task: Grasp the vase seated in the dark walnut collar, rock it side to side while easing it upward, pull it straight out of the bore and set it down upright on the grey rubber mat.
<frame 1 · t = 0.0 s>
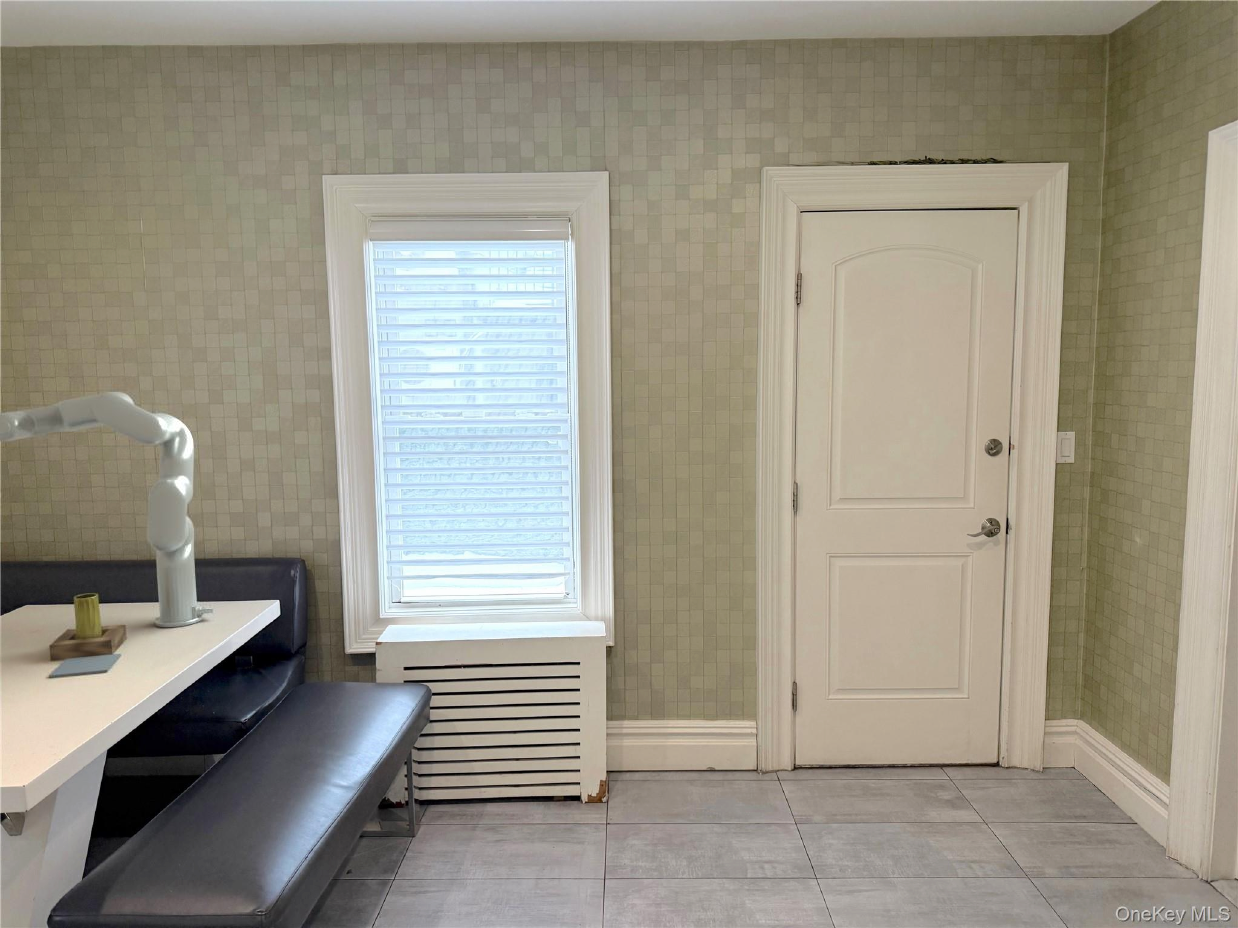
collar: (90, 649, 211), on the table
mat: (86, 666, 199), on the table
vase: (90, 650, 211), resting in collar
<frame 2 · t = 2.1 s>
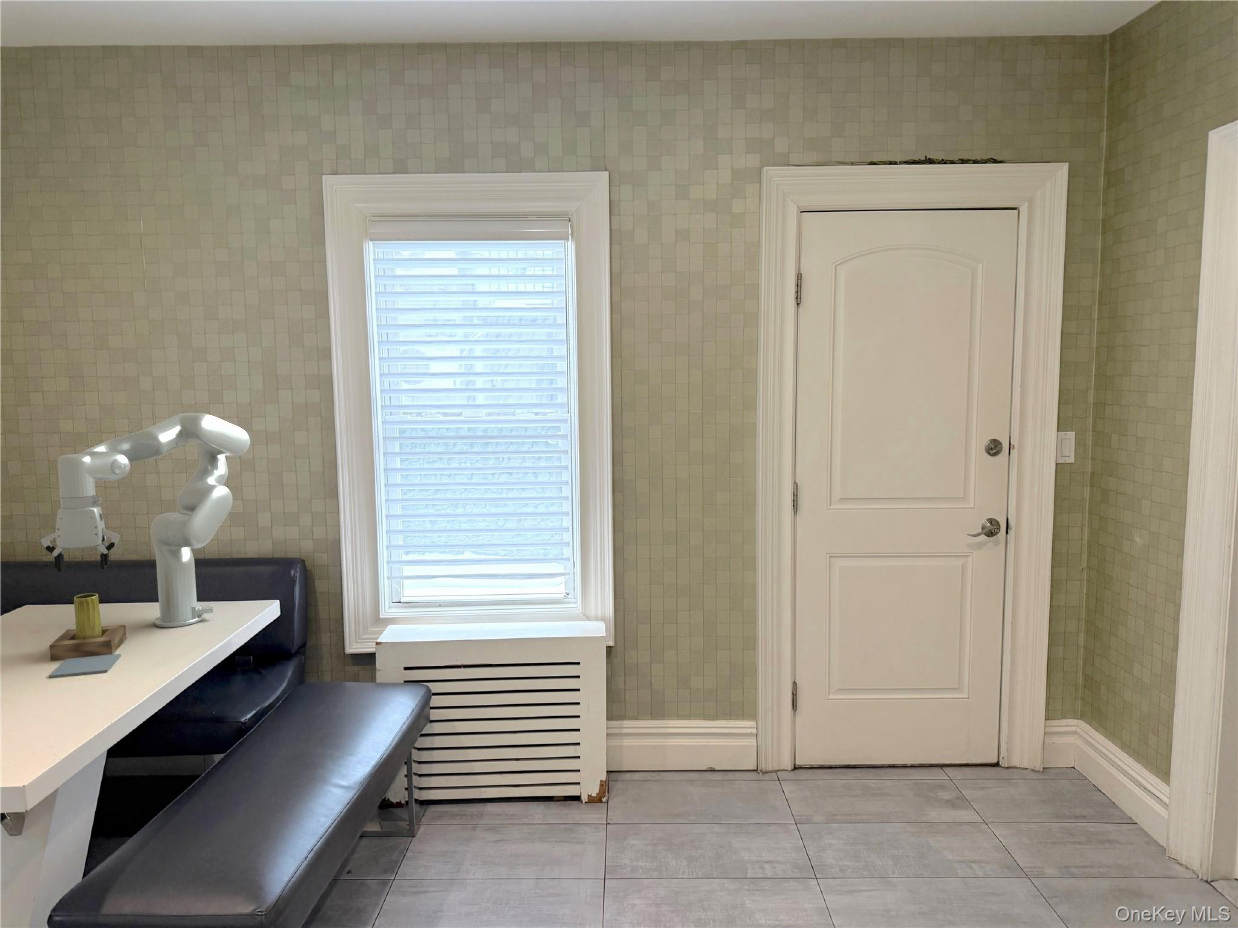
hand: (82, 569, 209), 21 cm above the table, fingers open, 9 cm apart
nothing on the table moved.
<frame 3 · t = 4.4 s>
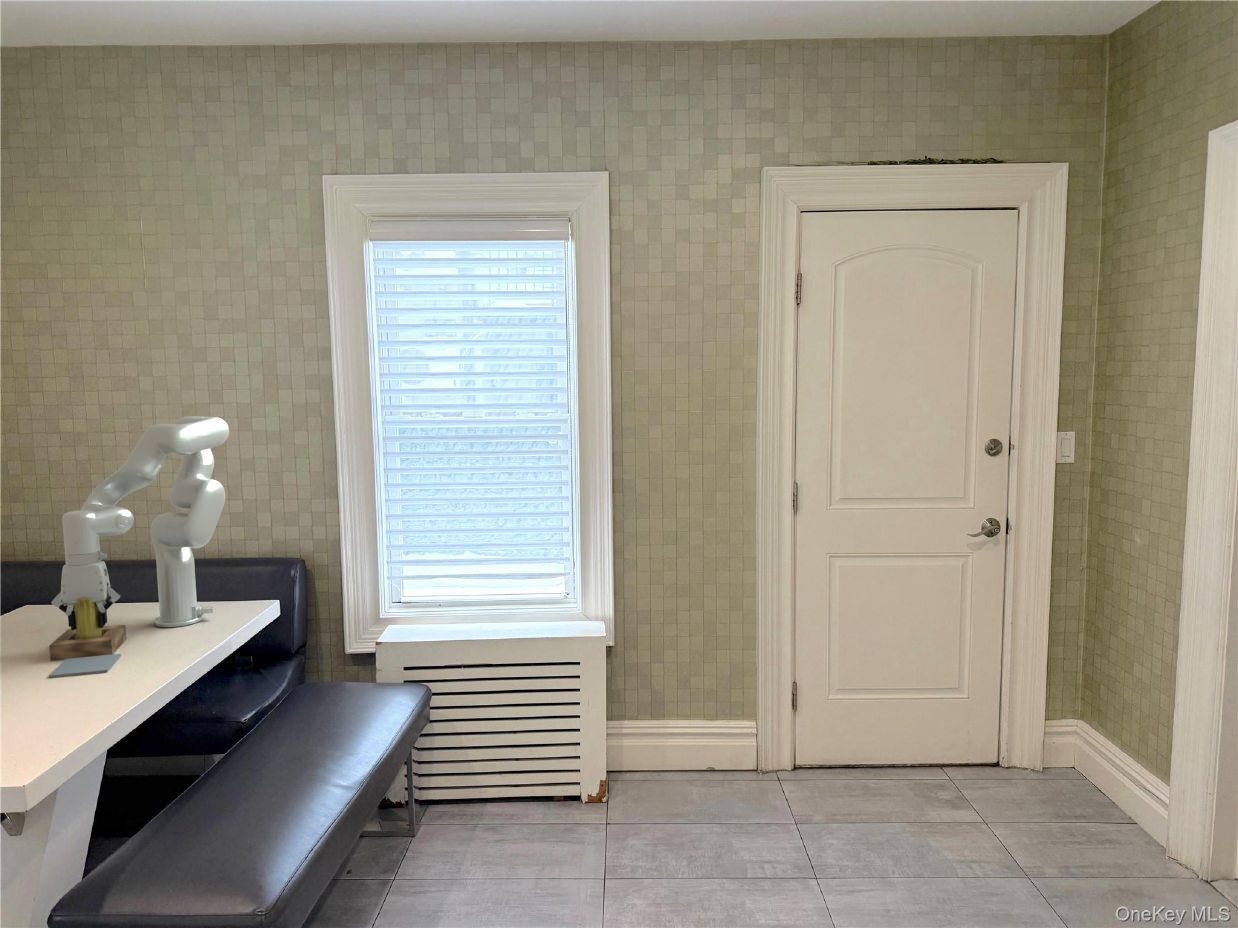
hand: (88, 626, 211), 6 cm above the table, fingers closed on vase, 5 cm apart
vase: (90, 650, 211), resting in collar, touching gripper
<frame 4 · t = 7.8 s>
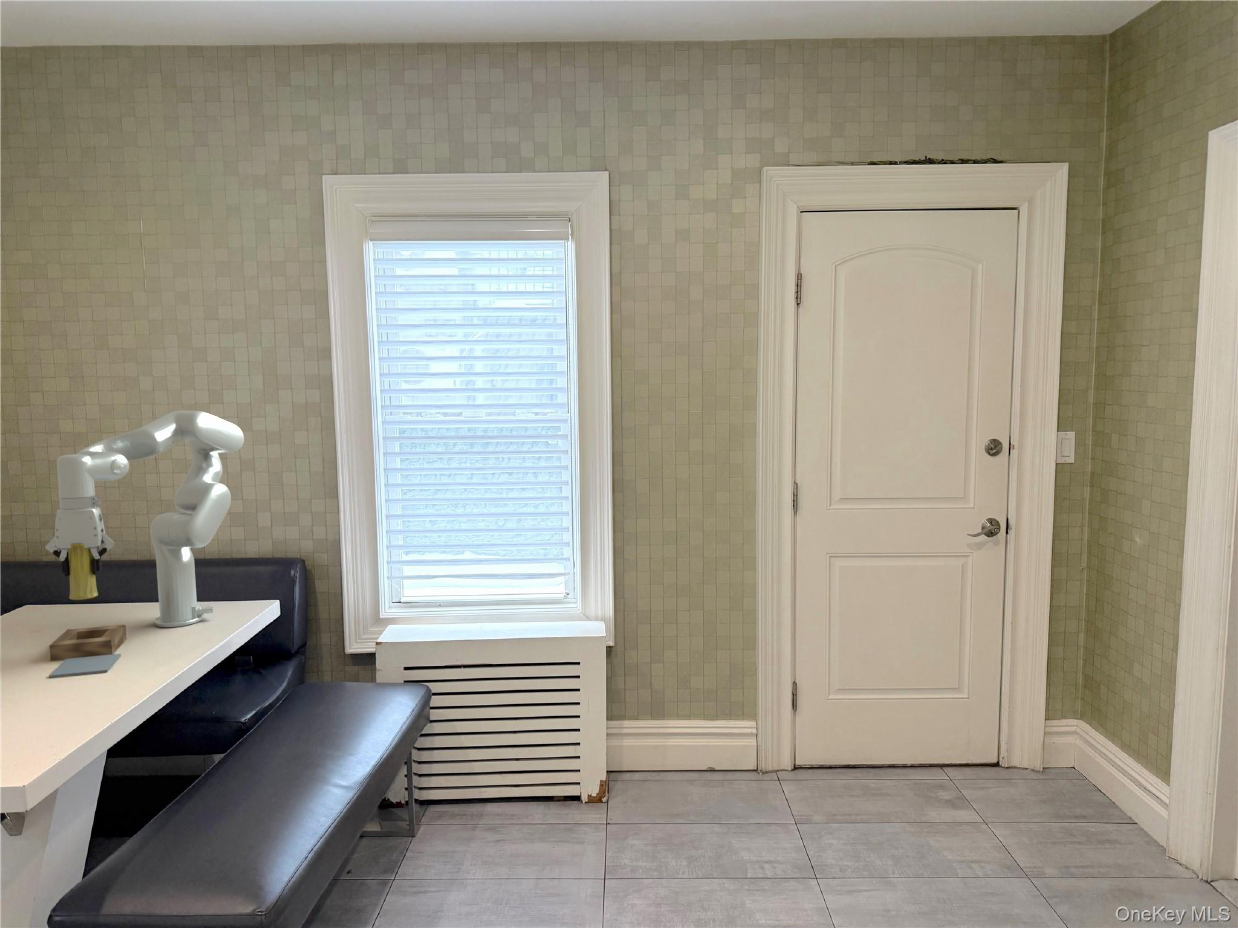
hand: (82, 573, 207), 21 cm above the table, fingers closed on vase, 5 cm apart
vase: (83, 597, 207), point 14 cm above the table, touching gripper
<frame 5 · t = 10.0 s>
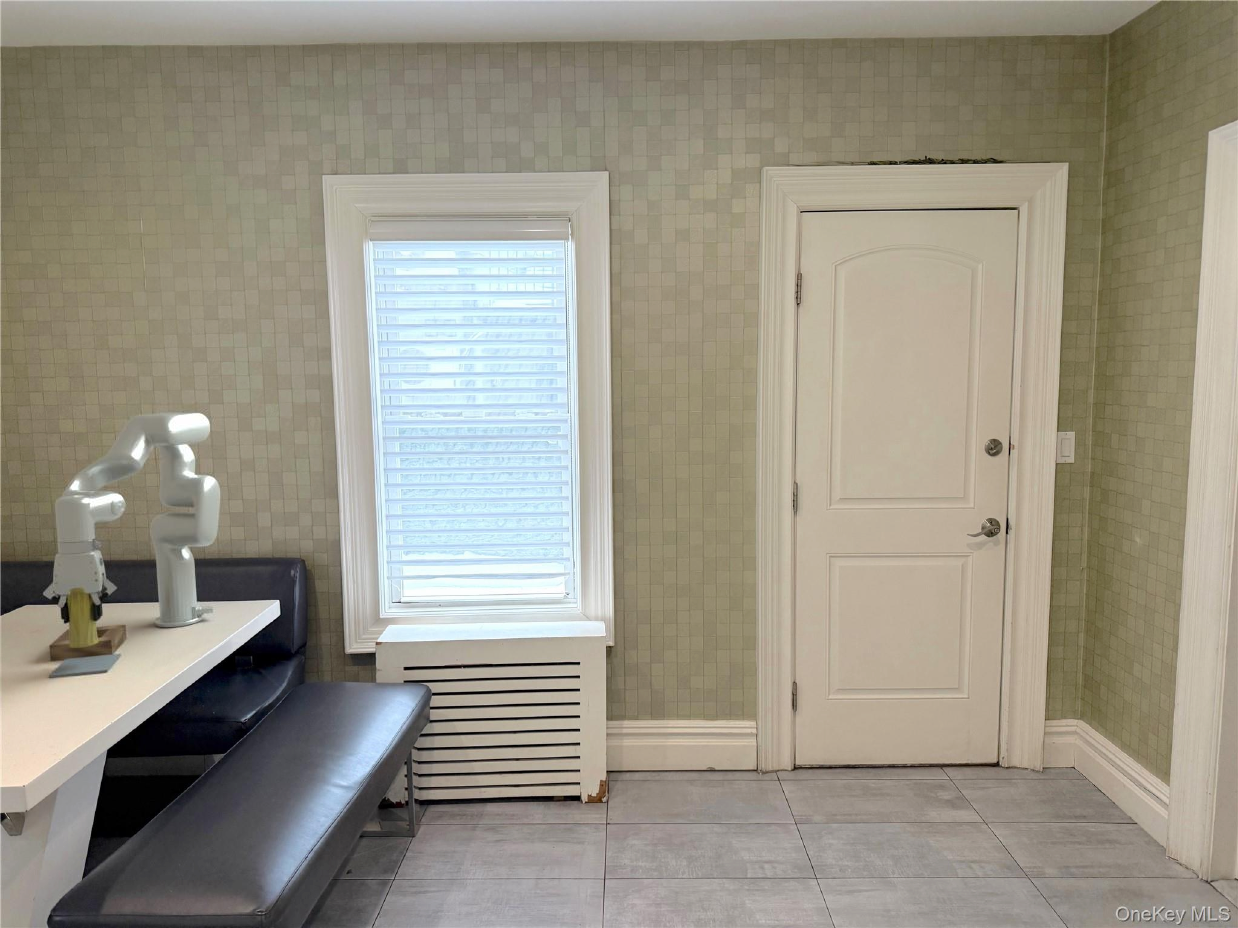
hand: (82, 620, 198), 12 cm above the table, fingers closed on vase, 5 cm apart
vase: (84, 644, 198), point 5 cm above the table, touching gripper
when the fingers open (8 cm above the table, at t = 11.6 s): vase drops 1 cm, resting on mat.
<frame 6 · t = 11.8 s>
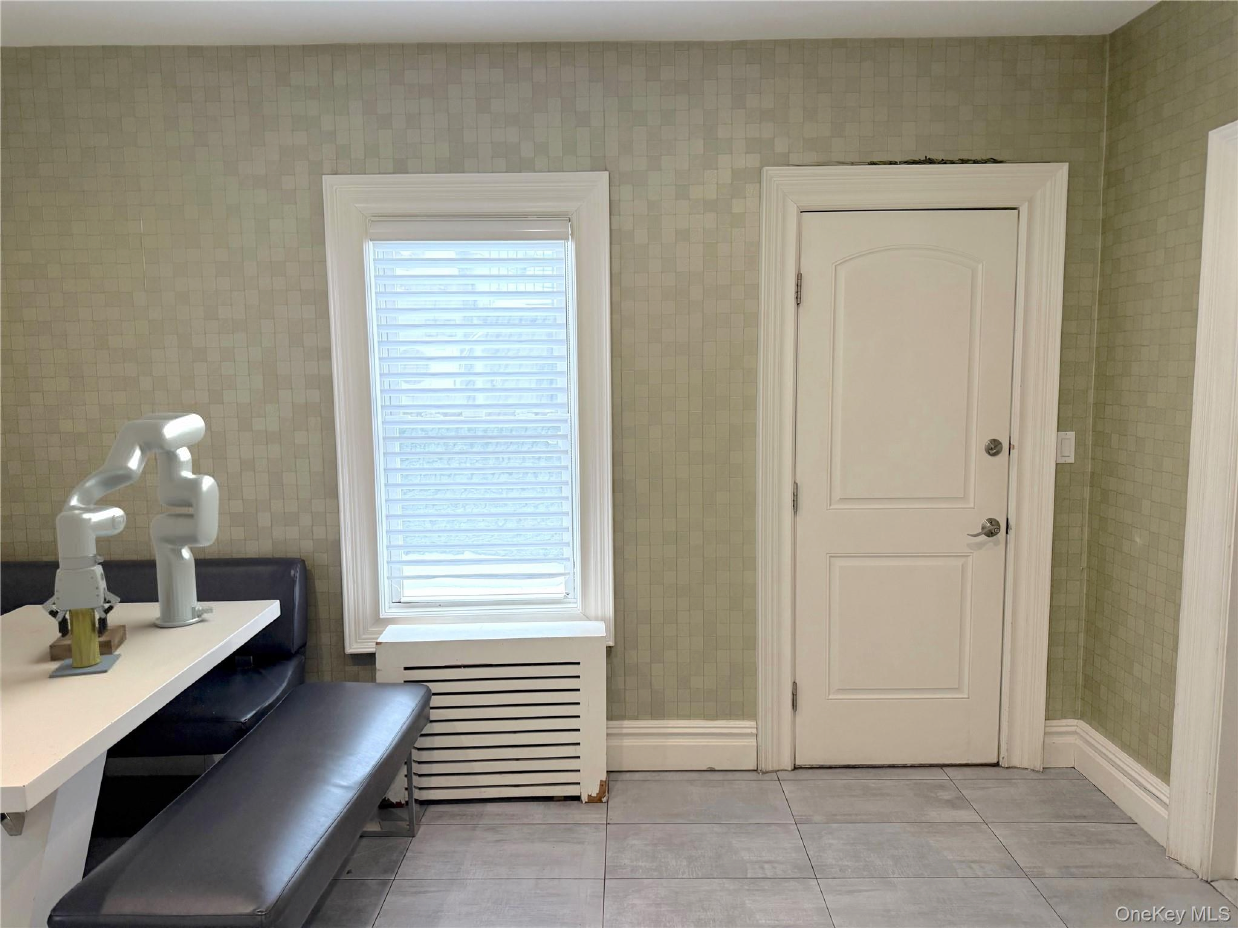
hand: (83, 633, 198), 8 cm above the table, fingers open, 7 cm apart
vase: (86, 664, 199), resting on mat
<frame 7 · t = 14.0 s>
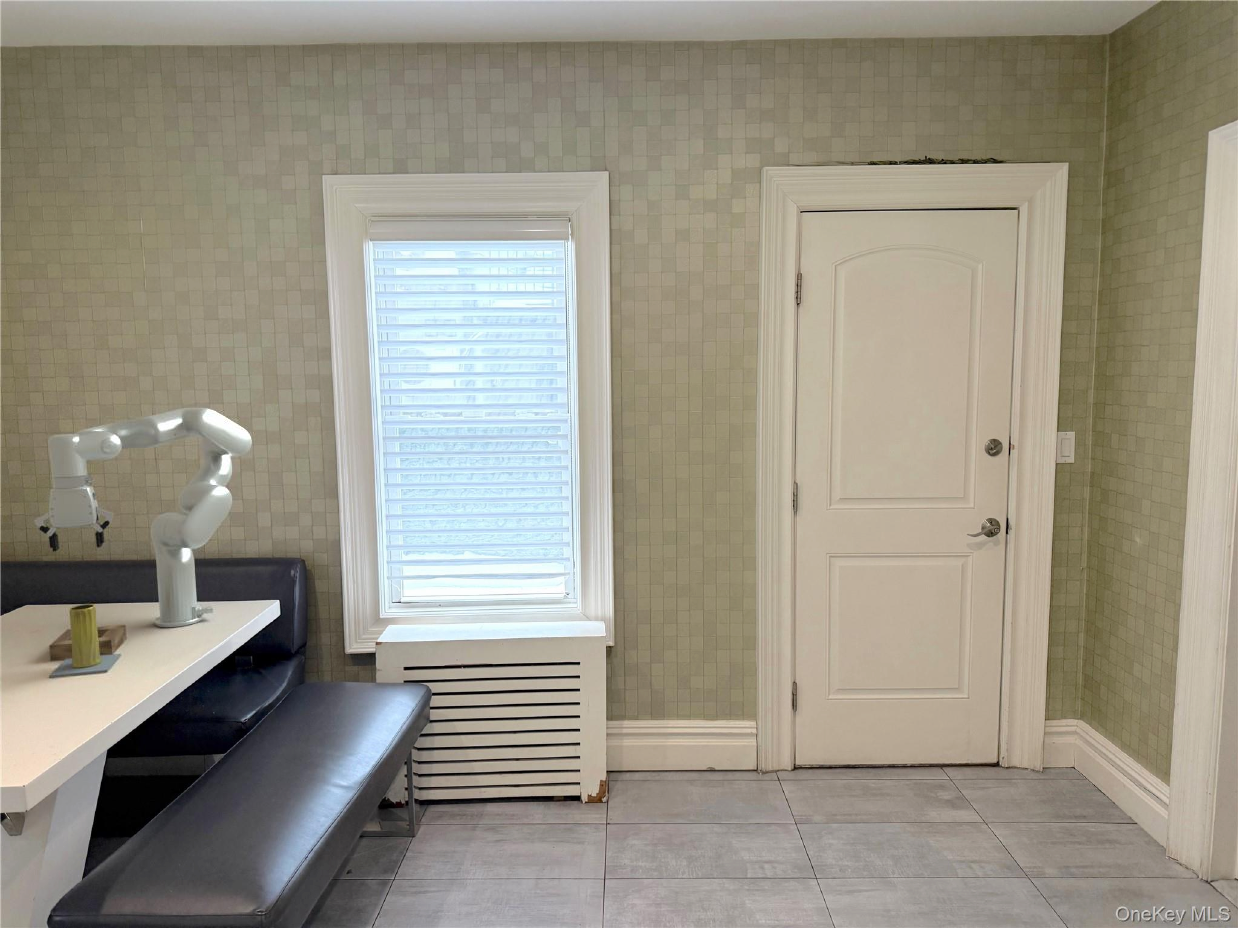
hand: (78, 548, 210), 26 cm above the table, fingers open, 9 cm apart
nothing on the table moved.
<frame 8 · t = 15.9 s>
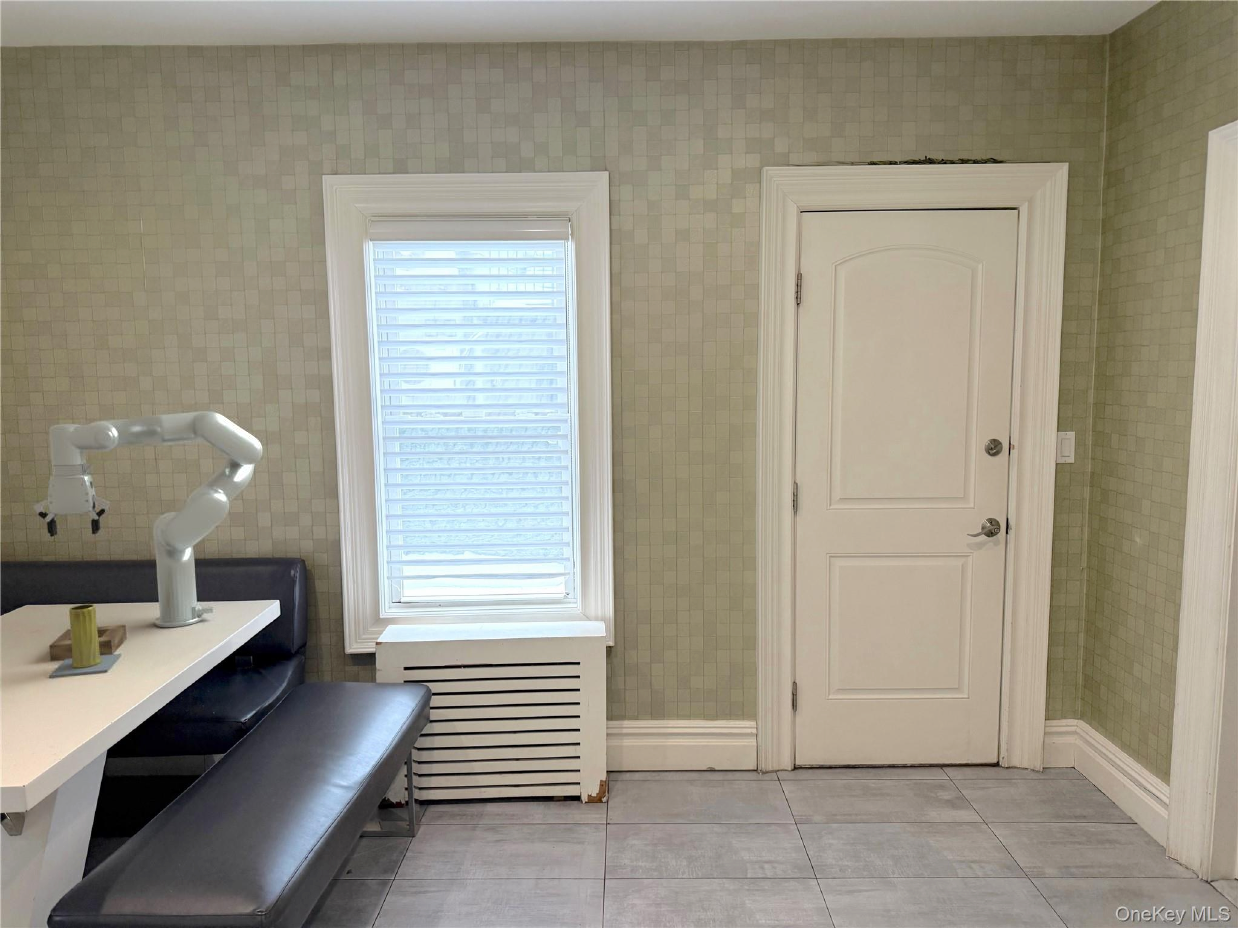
hand: (74, 534, 218), 28 cm above the table, fingers open, 9 cm apart
nothing on the table moved.
at the end: vase inside the target area on the mat (0.2 cm from its centre), point 0.4 cm above the mat's base; vase tilted 0°; the gripper is holding nothing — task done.
